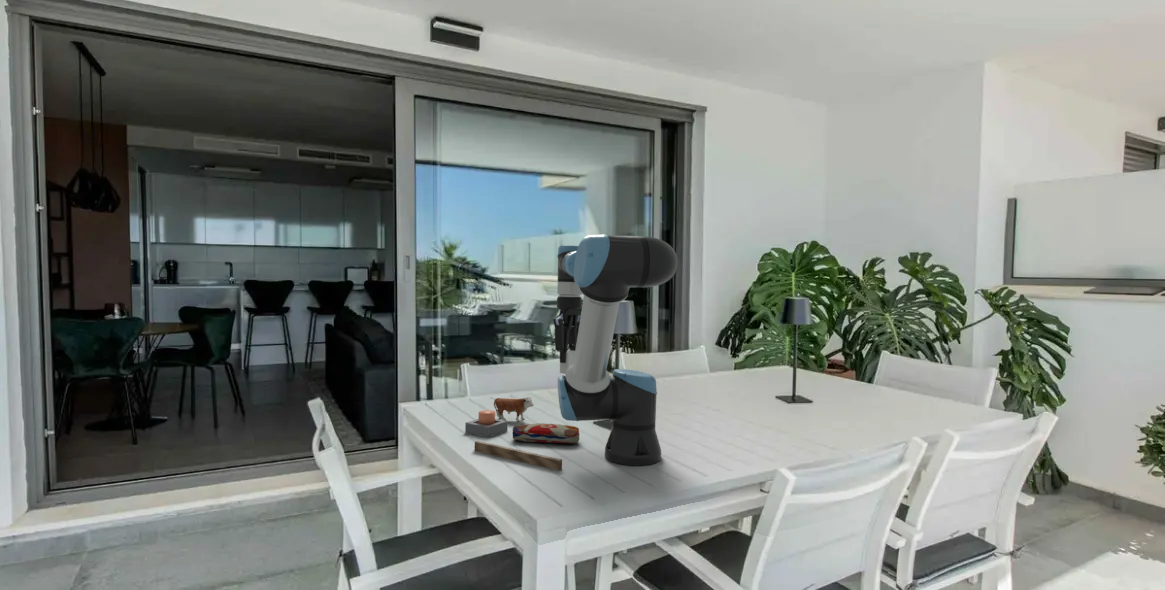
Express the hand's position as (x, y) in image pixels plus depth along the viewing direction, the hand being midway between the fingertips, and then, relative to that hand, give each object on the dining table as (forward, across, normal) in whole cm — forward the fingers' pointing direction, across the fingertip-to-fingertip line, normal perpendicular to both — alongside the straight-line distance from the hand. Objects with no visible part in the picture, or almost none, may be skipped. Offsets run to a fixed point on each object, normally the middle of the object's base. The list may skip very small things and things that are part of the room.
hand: (567, 372), depth 189 cm
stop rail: (+19, +30, +4) cm, 36 cm away
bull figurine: (+19, -2, -22) cm, 29 cm away
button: (+17, +14, -20) cm, 30 cm away
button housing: (+19, +14, -20) cm, 31 cm away
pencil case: (+19, +12, 0) cm, 22 cm away
